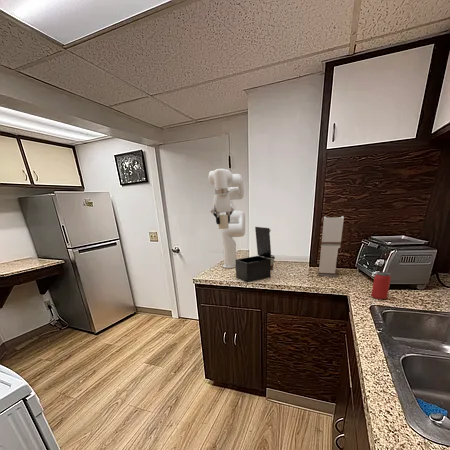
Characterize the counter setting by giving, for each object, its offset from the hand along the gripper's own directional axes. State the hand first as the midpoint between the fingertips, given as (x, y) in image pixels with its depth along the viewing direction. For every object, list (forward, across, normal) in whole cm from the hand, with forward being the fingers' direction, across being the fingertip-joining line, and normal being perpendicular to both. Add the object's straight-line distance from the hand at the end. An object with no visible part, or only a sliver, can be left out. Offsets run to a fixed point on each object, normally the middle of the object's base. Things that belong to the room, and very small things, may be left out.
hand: (223, 223), depth 154 cm
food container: (+35, -32, +2) cm, 47 cm away
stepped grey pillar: (+35, -56, +36) cm, 75 cm away
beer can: (+34, -43, +78) cm, 95 cm away
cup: (+3, 0, 0) cm, 3 cm away
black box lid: (+13, -21, +13) cm, 28 cm away
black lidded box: (+34, -13, +13) cm, 39 cm away
